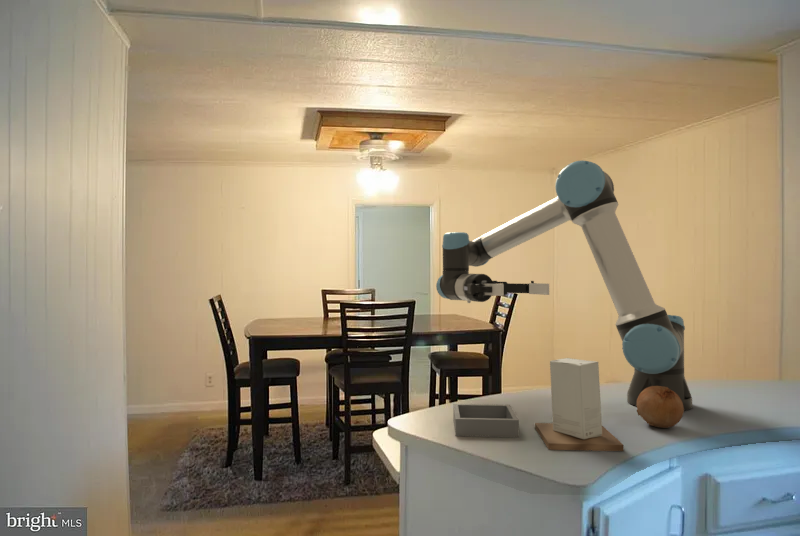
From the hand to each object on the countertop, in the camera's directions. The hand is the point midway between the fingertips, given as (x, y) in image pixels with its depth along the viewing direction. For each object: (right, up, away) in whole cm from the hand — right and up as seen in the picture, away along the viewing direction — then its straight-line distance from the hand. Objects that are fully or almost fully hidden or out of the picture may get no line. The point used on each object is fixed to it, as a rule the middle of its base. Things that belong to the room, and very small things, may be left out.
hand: (525, 289), depth 125 cm
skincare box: (+6, -29, -17) cm, 34 cm away
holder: (-11, -30, -9) cm, 33 cm away
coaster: (+6, -30, -17) cm, 35 cm away
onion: (+28, -30, -7) cm, 42 cm away
